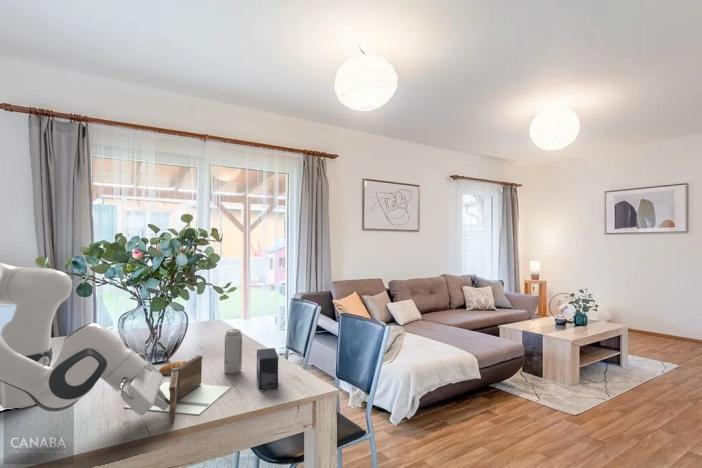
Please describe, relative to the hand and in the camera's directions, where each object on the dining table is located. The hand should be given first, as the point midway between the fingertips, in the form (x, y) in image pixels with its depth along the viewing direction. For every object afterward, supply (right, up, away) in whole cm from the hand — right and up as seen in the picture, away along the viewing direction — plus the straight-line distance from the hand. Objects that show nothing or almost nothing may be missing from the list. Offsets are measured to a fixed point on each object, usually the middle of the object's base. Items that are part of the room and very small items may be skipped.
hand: (167, 406), depth 100 cm
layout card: (-3, -4, +15) cm, 15 cm away
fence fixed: (-2, -4, +17) cm, 17 cm away
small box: (+21, -5, +26) cm, 34 cm away
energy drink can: (+6, -5, +36) cm, 37 cm away
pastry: (-14, -4, +35) cm, 38 cm away
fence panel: (0, -3, +4) cm, 5 cm away
